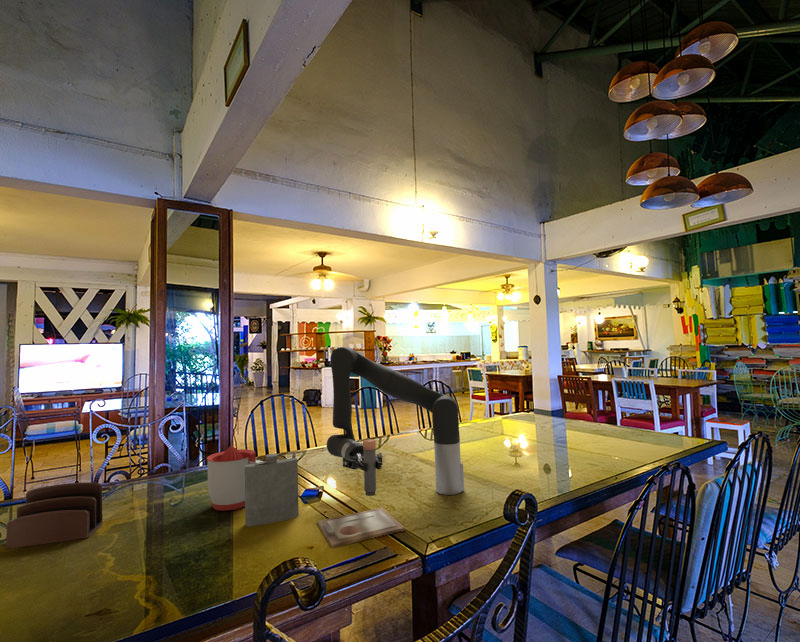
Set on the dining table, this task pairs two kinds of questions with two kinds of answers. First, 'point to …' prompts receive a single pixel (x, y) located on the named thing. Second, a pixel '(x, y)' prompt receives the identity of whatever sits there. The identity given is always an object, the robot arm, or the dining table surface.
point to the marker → (370, 466)
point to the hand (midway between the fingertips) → (373, 467)
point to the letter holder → (56, 515)
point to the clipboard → (358, 527)
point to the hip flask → (271, 491)
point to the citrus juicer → (228, 477)
